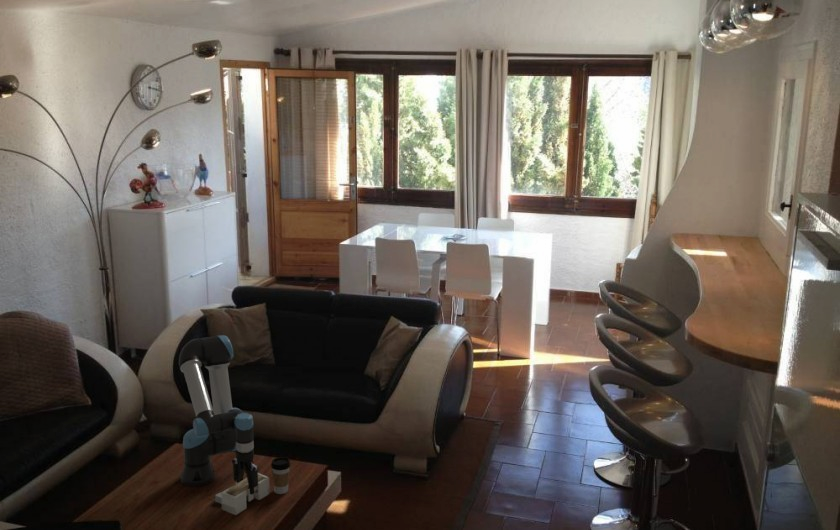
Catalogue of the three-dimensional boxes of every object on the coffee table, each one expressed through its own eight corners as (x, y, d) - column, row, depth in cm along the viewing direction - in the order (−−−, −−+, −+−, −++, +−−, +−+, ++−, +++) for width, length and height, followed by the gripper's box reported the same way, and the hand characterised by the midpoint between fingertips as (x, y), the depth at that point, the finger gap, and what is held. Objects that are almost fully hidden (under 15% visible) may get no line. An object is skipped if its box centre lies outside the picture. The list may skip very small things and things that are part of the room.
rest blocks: (215, 501, 325) (215, 495, 324) (240, 486, 338) (240, 480, 337) (223, 504, 323) (223, 498, 322) (248, 489, 335) (248, 483, 334)
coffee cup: (286, 496, 330) (286, 465, 327) (268, 494, 332) (268, 463, 329) (293, 487, 338) (293, 457, 335) (275, 484, 340) (275, 454, 337)
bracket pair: (221, 509, 319) (221, 492, 317) (256, 488, 337) (255, 472, 335) (235, 515, 315) (235, 498, 313) (269, 493, 333) (269, 477, 331)
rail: (228, 499, 319) (228, 488, 318) (255, 483, 333) (254, 473, 332) (236, 502, 317) (236, 491, 316) (262, 486, 330) (262, 475, 329)
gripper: (223, 447, 321) (225, 496, 327) (253, 458, 313) (255, 508, 318) (236, 440, 328) (237, 488, 333) (266, 451, 319) (267, 500, 324)
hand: (246, 498), depth 326 cm, fingers closed on rail, 4 cm apart
